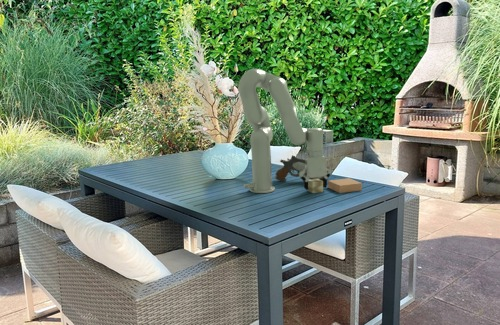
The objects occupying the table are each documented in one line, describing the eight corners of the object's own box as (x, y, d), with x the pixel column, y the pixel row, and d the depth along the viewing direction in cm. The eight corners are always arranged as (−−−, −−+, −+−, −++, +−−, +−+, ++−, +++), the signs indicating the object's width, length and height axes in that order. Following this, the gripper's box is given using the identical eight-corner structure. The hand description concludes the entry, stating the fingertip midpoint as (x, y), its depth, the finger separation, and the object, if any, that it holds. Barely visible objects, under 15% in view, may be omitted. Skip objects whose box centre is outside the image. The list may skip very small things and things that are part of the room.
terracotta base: (339, 193, 205) (339, 185, 204) (328, 188, 216) (327, 180, 215) (361, 191, 208) (361, 183, 208) (348, 185, 220) (348, 178, 219)
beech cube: (312, 193, 206) (312, 182, 205) (307, 190, 211) (307, 180, 210) (323, 192, 208) (323, 181, 207) (317, 189, 213) (317, 178, 212)
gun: (323, 194, 228) (331, 167, 224) (273, 179, 231) (281, 153, 228) (323, 191, 232) (331, 165, 229) (275, 177, 236) (282, 151, 233)
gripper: (302, 156, 200) (302, 191, 203) (334, 153, 205) (334, 187, 208) (295, 154, 207) (296, 188, 210) (327, 151, 212) (327, 184, 215)
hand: (315, 188), depth 209 cm, fingers open, 9 cm apart
